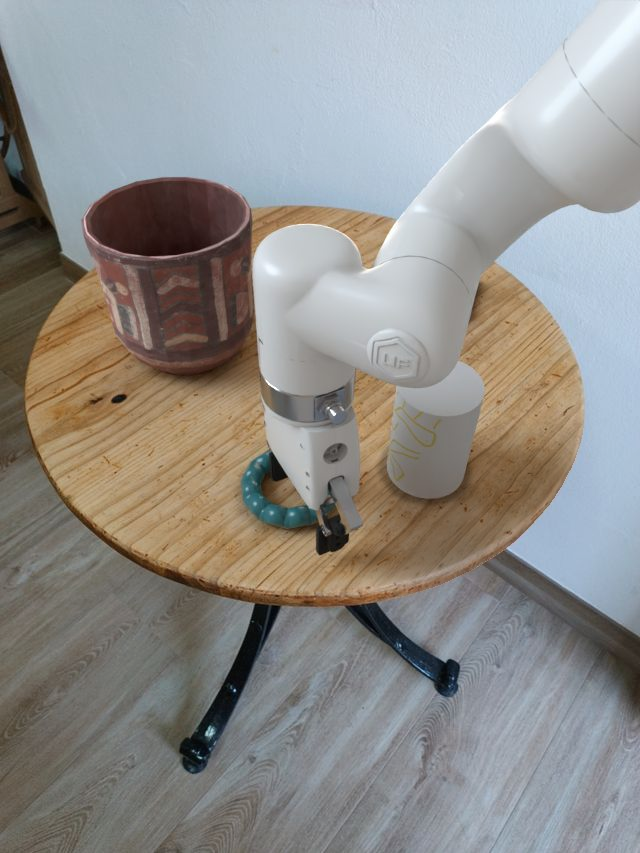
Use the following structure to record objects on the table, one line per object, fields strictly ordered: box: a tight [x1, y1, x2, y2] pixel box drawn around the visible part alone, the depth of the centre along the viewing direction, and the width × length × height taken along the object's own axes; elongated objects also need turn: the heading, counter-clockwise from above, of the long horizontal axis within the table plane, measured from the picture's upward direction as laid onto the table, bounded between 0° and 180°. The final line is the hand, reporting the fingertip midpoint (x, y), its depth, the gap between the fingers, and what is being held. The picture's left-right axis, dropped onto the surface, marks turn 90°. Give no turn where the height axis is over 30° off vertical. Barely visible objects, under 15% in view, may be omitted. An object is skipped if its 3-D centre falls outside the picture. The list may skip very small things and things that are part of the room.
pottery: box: [80, 176, 255, 376], centre depth 80 cm, size 18×18×18 cm
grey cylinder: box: [386, 360, 486, 500], centre depth 68 cm, size 8×8×12 cm
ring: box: [240, 448, 336, 530], centre depth 70 cm, size 10×10×2 cm
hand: (308, 509), depth 67 cm, fingers open, 9 cm apart
